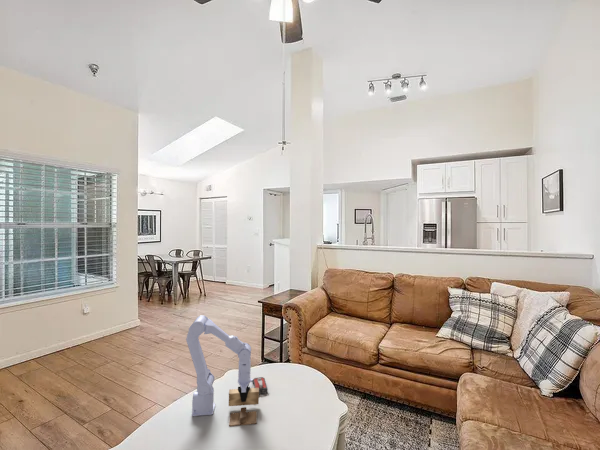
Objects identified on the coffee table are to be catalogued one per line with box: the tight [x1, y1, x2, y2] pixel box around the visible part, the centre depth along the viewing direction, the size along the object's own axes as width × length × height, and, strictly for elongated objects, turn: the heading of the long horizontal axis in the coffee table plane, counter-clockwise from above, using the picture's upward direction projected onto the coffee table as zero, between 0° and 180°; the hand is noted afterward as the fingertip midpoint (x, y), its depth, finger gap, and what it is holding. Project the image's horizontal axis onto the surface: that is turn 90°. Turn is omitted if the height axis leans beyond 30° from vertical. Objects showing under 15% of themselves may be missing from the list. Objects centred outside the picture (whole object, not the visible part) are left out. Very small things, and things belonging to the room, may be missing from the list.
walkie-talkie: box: [249, 376, 268, 395], centre depth 154 cm, size 9×4×20 cm
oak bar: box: [228, 388, 260, 407], centre depth 140 cm, size 14×4×6 cm, turn 99°
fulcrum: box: [228, 407, 258, 427], centre depth 132 cm, size 12×8×3 cm, turn 99°
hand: (243, 398), depth 140 cm, fingers closed on oak bar, 3 cm apart
